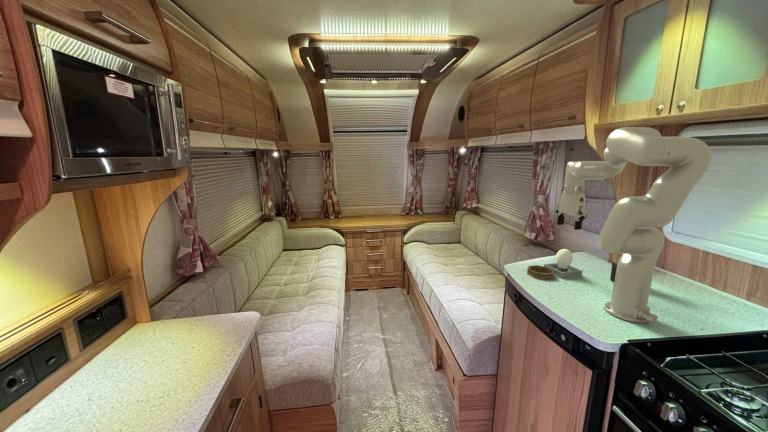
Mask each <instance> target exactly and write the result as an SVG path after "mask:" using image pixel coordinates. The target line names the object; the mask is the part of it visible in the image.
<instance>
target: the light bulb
mask: <svg viewBox="0 0 768 432" xmlns="http://www.w3.org/2000/svg"><path fill="white" fill-rule="evenodd" d="M573 259H574V257H573V253H572V252H571V250H569V249H567V248H561V249H560V250H558V251H557V253H556V255H555V261H556V262H555V263H557V264H558V270H559V271H561V272H568V266H569V265H570V266H571V264H572V262H573Z"/></svg>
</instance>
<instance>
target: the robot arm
mask: <svg viewBox="0 0 768 432" xmlns="http://www.w3.org/2000/svg"><path fill="white" fill-rule="evenodd" d="M605 146H606V147H605V148H604V150H603V159H604V160H603V161H602V160H593V161H592V160H586V161H585V160H584V161H583V160H582V161H581V160H580V161H578V160H577V161H576V160H575V161H568V162H567V163H566V168H565V176H564V182H563V183H564V185H563V191H562V194H561V196H560V199H559V200H560V201H559V204H557V205H555V206H554V208H555V213H556V217H557V220H556V225H557V226H562V225H564V223H565V215H568V216H572V217H574V218H575V221H574V227H573V229H574V230H575V231H579V230H580V231H581V230H582V227H583V222H584V221H585V220H586V219H587V216H588V215H589V214H590V212H589V211H588V210H587V209H586V195H585V193H584V192H585V190H586V189H585V181H586V180H600V181H601V180H606V179H607V180H608V179H611V178H613V177H615V176H616V175H618V174H620V173H622V172H623V170H624V169H625V167H626V165H627V163H632V164H634V165H638V166H642V167H643V166H645V167H669V169H668V170H666V171H665V172H663V173H662V174H661V175H659V176H658V177H657V178H656V179H655V180H654V182H653V183H652V185H651V188H650V189H649V190H648V192H647V193H646V194H645V195H642V196H636V195H635V196H634V195H633V196H627V197H623V198H621V199H619V200H618V201H617V202H615V204H614V206H613V207H612V209H611V211H609V212H610V213H609V214H608V216H607V219H606V220H605V222H604V225H603V226H602V229H601V231H600V234H599V238H598V241H599V245H600V248H601V249H602V250H603V251H604V252H606V253H608V254H613V255H614V254H622V256H621V257H620V259H619V261H618V264H617V269H616V275H615V281H614V282H613V287H612V293H611V299H610V301H609V302H606V303H604V306H603V307H604V310H605V311H606V312H608V314H610V315H612V316H614V317H616V318H619V320H620V319H621V320H624V321H627V322H631V323H632V322H633V323H637V324H638V323H639V324H642V323H651V324H655V323H656V322H657V319H658V318H659V317H658V315H656V314H654V313H651V307H649V306H648V303H649V297H650V292H651V289H652V288H651V287H652V282H653V276H654V273H655V269H656V264H657V261H658V259H659V257H660V254H661V252H662V250H663V249H664V245H665V236H664V234H663V232H662V231H661V230H660V229H658V227H664V226H668V225H669V224H670V223H671V222H672V221H673V220H674V219H675V217H676V216H677V215H678V213H679V211H680V209H681V208H682V207H683V205H684V204H685V202H686V201H687V199H688V197H689V195H690V193H691V192H692V191H693V189H694V188H695V186H697V184H698V183H699V181H701V180H702V178H703V177H704V175H705V174H706V172H708V169H709V168H710V165H711V160H712V153H711V150H710V147H709V146H708V144H707V143H705V142H704V141H703V140H701V139H699V138H695V137H690V136H675V135H674V136H662V134H661V133H660V131H659V130H657V129H655V128H653V127H648V126H641V127H640V126H637V127H636V126H624V127H618V128H615V130H613V131H612V132H611V133H610V134H609V135H608V137H607V139H606V141H605Z"/></svg>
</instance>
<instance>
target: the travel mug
mask: <svg viewBox="0 0 768 432" xmlns="http://www.w3.org/2000/svg"><path fill="white" fill-rule="evenodd" d="M621 256H622V254H613V256H612V263H611V269H610V279H609V280H610V281H611V282H612V283H614V281H615V275H616V269H617V264H618V261H619V259H620V257H621Z"/></svg>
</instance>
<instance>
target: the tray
mask: <svg viewBox="0 0 768 432" xmlns="http://www.w3.org/2000/svg"><path fill="white" fill-rule="evenodd" d="M543 266H544V267H548V268H550V269H552V270H554V273H553V276H556V277H558V278H559V279H566V278H567V279H569V278H577V277H583V270H582V269H579V268H577V267H575V266H572V265H571V264H570V265H569V266H568V272H561V271H559V270H558V264H557V262H555V263H554V262H553V263H544V264H543Z"/></svg>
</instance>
